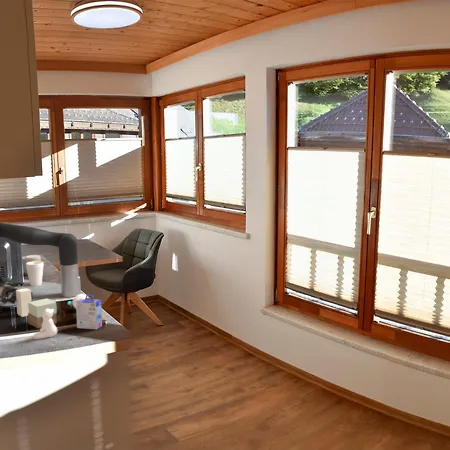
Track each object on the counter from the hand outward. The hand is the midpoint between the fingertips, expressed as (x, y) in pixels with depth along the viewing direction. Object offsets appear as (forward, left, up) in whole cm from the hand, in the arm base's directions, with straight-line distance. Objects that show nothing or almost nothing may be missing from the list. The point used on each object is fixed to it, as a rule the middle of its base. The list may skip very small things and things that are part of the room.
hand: (23, 299), depth 241 cm
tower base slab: (0, +19, -7) cm, 20 cm away
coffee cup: (-39, -70, -7) cm, 81 cm away
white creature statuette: (+6, +35, -7) cm, 36 cm away
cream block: (0, +1, -7) cm, 7 cm away
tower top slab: (0, +19, -2) cm, 19 cm away
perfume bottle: (-22, +13, -7) cm, 26 cm away
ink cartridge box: (-12, +39, -7) cm, 41 cm away
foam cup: (-29, -47, -7) cm, 56 cm away
